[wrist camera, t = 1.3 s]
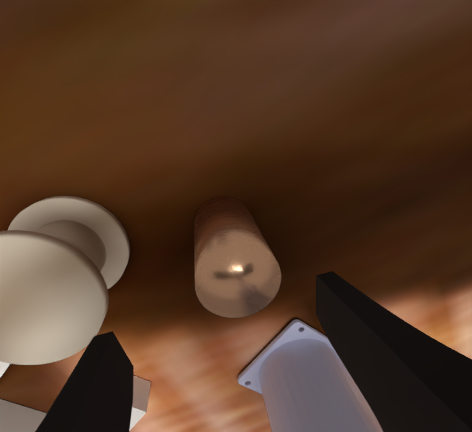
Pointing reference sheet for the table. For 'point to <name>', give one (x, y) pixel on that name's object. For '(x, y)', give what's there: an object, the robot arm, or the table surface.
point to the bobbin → (57, 278)
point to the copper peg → (232, 260)
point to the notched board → (28, 420)
